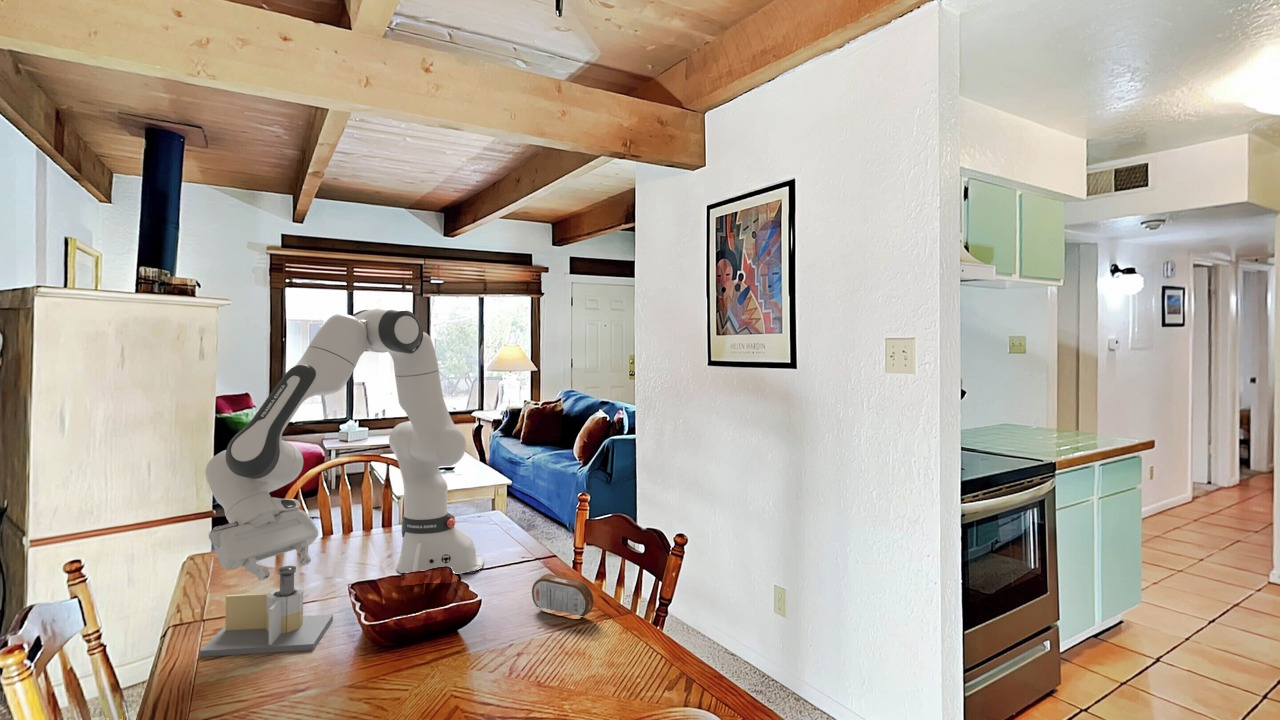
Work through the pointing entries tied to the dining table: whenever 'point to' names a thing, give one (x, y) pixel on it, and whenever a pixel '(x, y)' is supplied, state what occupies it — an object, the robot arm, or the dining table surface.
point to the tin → (562, 595)
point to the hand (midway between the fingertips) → (286, 570)
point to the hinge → (266, 625)
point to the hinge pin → (286, 580)
